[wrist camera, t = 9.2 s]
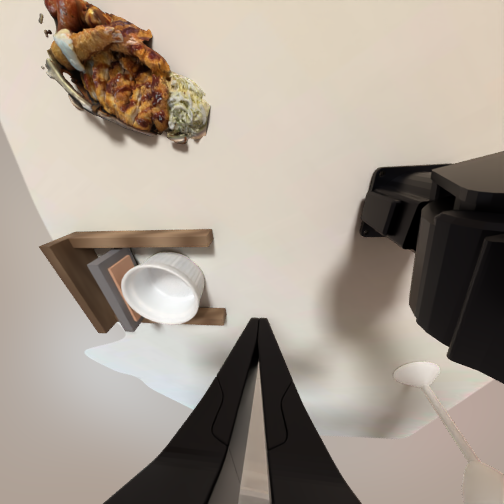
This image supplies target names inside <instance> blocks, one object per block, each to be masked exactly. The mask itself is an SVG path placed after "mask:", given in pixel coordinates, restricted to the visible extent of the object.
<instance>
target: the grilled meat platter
mask: <svg viewBox="0 0 504 504" xmlns="http://www.w3.org/2000/svg"><path fill="white" fill-rule="evenodd" d="M44 2H45V6H46V8H47V9H48V11H49V13H50V14H51V16H52V17H53V18H54V21H55V24H56V33H55V35H54V36H53V37H54V41H53V43H52V45H51V48H50V49H49V50H47V52H48V54H49V56H50V59H47V60H46V64H45V66H46V67H47V69H48V71H46V73H47V75H48V76H49V77H50V78H52V79H55V80H56V81H57V82H58V83H59V84H60V85H61V86H62V87H63V88H64V89H65V90H66V91H67V92H68V93H69V94H68V96H69V98H70V101H71V102H72V104H73V105H74V106H75V107H77V108H79V109H82V110H83V109H85V110H87V111H88V112H90V113H92V114H93V115H96V116H99V117H101V118H105V119H107V120H109V121H112V122H115V123H117V124H118V125H120V126H122V127H124V128H128V129H130V130H133V131H136V132H140V133H144V134H147V135H149V136H155V135H157V134H159V135H161V134H162V133H163V131H166V132H167V138H168V139H170V140H172V141H174V142H176V143H179V144H185V143H186V142H187V141H188V139H189V138H192V139H200V138H202V137H203V136H205V135H206V128H207V119H208V113H209V109H210V105H209V104H208V103H207V102H206V101H205V100H203V99H202V96H203V95H204V96H205V94H204V93H203V91H202V90H201V89H200V88H199V87H198V86H197V85H196V84H195V83H194V82H193V81H192V80H190V79H189V78H185V77H183V76H181V75H179V74H176V73H174V72H171V70H170V68H169V65H168V64H167V62H166V61H165V59H164V58H163V57H162V56H161V55H160V54H158V53H157V52H155V51H154V50H152V49H151V48H149V47H147V46H146V45H145V44H144V43H143V42H142V41H144V40H147V41H149V39H150V38H152V34H151V31H150V30H149V29H148V30H147V31H145V30H142V29H140V28H138V27H137V26H135V25H134V24H132V23H130V22H128V21H126V20H125V19H123V18H121V17H117V16H115V15H113V14H108V13H106V12H105V13H106V14H105V13H104V12H102V11H101V10H100V9H99V8H97V7H96V6H93V5H92V4H89V3H88V2H86V1H83V0H44ZM42 21H43V15H42V14H40V18H39V23H41V24H42ZM44 33H45V35H46V37H48V34H52V32H51V31H50V30H48V31H47V30H44ZM41 68H42V69H45V68H44V67H43V66H41ZM63 72H65V73H67V74H69V75H70V76H71V77H70V78H72V79H71V81H72V82H73V83H75V84H76V85H77V88H78V89H79V90H80V91H81V93H82V94H83V95H84V96H85V97H84V96H81V95H80V94H79V93H78V92H77V91H76V90H75V89H74V88H73V86H72V85H71V84H70V83H69V82H68V81H67V80H66V79H65V77H64V76H63ZM156 129H157V130H156ZM179 132H180V133H181V134H180V135H178V133H179Z"/></svg>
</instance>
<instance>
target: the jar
mask: <svg viewBox="0 0 504 504" xmlns="http://www.w3.org/2000/svg"><path fill="white" fill-rule="evenodd" d="M238 504H270V501H269V488H268V475H267V462H266V449H265V436H264V423H263V410H262V397H261V384H260V371H259V363H258V371H257V378H256V384H255V391H254V398H253V405H252V412H251V418H250V425H249V432H248V439H247V446H246V452H245V459H244V466H243V473H242V479H241V485H240V493H239V500H238Z"/></svg>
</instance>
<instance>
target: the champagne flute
mask: <svg viewBox="0 0 504 504" xmlns="http://www.w3.org/2000/svg"><path fill="white" fill-rule="evenodd" d="M439 374H440V368H439V366H438V365H436V364H434V363H431V362H423V361H422V362H412V363H408V364H405V365H403V366H401V367H399V368H398V369H396V370H395V372H394V374H393V377H394V379H395V380H396V381H398V382H400V383H403V384H407V385H410V386H414V387H418V388H421V389H422V391H423V392H424V394H425V395H426V397H427V399H428V400H429V402H430V403H431V405H432V406H433V408H434V410H435V411H436V413H437V414H438V416H439V417H440V419H441V420H442V422H443V424H444V425H445V427H446V428H447V430H448V431H449V433H450V435H451V436H452V438H453V439H454V441H455V442H456V444H457V446H458V447H459V449H460V450H461V452H462V453H463V455H464V457H465V458H466V459H467V461H468V465H467V466H466V468H465V471H464V477H463V483H462V496H463V502H464V504H504V474H503V473H501V472H500V471H498V470H496V469H495V468H493V467H491V466H489V465H486V464H484V463H482V462H481V461H480V460H479V459H478V457H477V456H476V454H475V453H474V451H473V450H472V448H471V447H470V445H469V444H468V442H467V441H466V439H465V438H464V436H463V435H462V433H461V432H460V431H459V429H458V428H457V426H456V425H455V423H454V422H453V420H452V419H451V417H450V416H449V414H448V413H447V411H446V410H445V409H444V407H443V406H442V404H441V403H440V401H439V400H438V398H437V397H436V395H435V394H434V392H433V391H432V389H431V388H430V385H431V384H432V382H433V381H434V380H435V379H436V377H437V376H438V375H439Z"/></svg>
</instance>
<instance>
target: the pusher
mask: <svg viewBox="0 0 504 504" xmlns="http://www.w3.org/2000/svg"><path fill="white" fill-rule="evenodd" d="M87 266H88V268H89V270H90V272H91V273H92V275H93V277H94V278H95V280H96V282H97V284H98V285H99V287H100V289H101V291H102V292H103V294H104V296H105V297H106V299H107V301H108V303H109V304H110V306H111V308H112V309H113V311H114V313H115V315H116V316H117V318H118V320H119V321H120V323H121V325H122V327H123V328H124V330H125V331H129V332H134V331H135V330H136V328H137V327H138V326H139V324H140V323H141V322H142V321H143V319H144V317H143V316H141V315H140V314H138V313H137V312H136V311H135V310H133V309H132V308H131V307H130V306H129V304H128V303H127V302H126V300H125V298H124V297H123V294H122V290H121V281H122V279H123V277H124V275H125V274H126V273H127V272H128V271H129V270H130V269H132V268H133V267H135V266H137V264H136V262H135V260H134V257H133V255H132V253H131V250H130V248H113V249H112V250H110V251H109V252H107V253H105V254H104V255H102V256H100V257H99V258H97V259H95V260H94V261H92V262H91V263H89V264H87Z"/></svg>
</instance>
